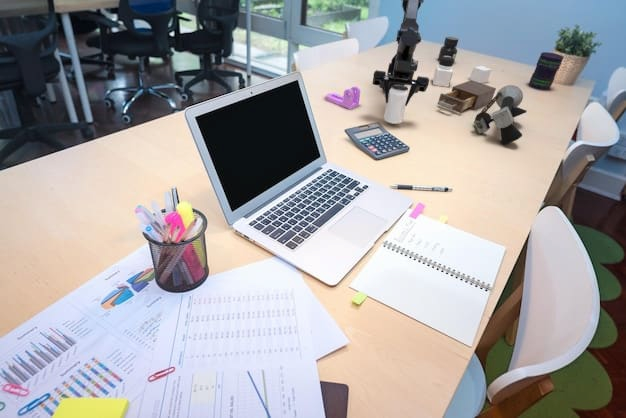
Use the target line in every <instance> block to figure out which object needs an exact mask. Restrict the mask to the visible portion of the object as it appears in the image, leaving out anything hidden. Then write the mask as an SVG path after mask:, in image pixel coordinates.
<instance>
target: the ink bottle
mask: <svg viewBox="0 0 626 418" xmlns="http://www.w3.org/2000/svg"><path fill="white" fill-rule="evenodd" d="M459 40H460V39H459V38H458V37H455V36H445V39H444V41H443V42H444V43H443V45H442V46H441V47H440V48H439V54H438V56H437V61H439V62H440V58H441V57H443V56H449V57H452V58H453V59H454V62H453V64H454V63H455V60H456V57H457V53H458V48H457V47H458V43H459Z"/></svg>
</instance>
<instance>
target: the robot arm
mask: <svg viewBox="0 0 626 418" xmlns="http://www.w3.org/2000/svg"><path fill="white" fill-rule="evenodd" d="M400 1H401V8H402V11H403V17H402V22H401V23H400V26H399V29H397V33H396V39H395V42H397V49H396V53H395V54H394V56H393V57H392V58H391V61H390V62H389V63H388V67H387V71H385V70H378V69H377V70H375V71H373V78H372V85H373V86H378V87H379V88H380V89H381V90H382V91H383V96H384V101H385V104H387V102H388V95H389V91H390V89H391V86H392V85H403V86H410V89H409V90H408V97H407V101H406V105H405V107H407V106H408V104H409V102H410V101H411V99H412V97H413V96H414V95H415V94H418V93H419V92H422V93H424V92H426V91H427V89H428V87H429V83H430V79H429V77H426V76H419V75H418V76H417V77H416V79H414V78H413V79H409V77H410V76H411V71H414V72H417V69H418V67H419V60H415V59H414V53H415V51H416V48H417V45H419V43H422V36H421V33H420V32H419V28H420V26H419V24H418V22H417V20H418V19H417V17H418V13H419V12H418V11H419V9H420V8H421V5H422V4H424V2H425V0H400ZM412 58H413V59H414V60H413V61H412Z"/></svg>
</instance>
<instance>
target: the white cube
mask: <svg viewBox="0 0 626 418" xmlns="http://www.w3.org/2000/svg"><path fill="white" fill-rule="evenodd" d="M491 73H492V69H491V68H489V67H485V66H483V65H478V66H476V65H475V66H472V69H471V72H470V76H469V81H470V80H472V81H475V82H478V83H481V84H485V83H488V82H489V78H490V75H491Z"/></svg>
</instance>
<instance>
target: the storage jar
mask: <svg viewBox="0 0 626 418" xmlns="http://www.w3.org/2000/svg"><path fill="white" fill-rule="evenodd" d="M564 58H565V57H564V56H563V55H561V54H559V53H555V52H541V53H540V56H539V57H538V60H537V62H536V67H535V68H534V71H533V73H532V75H531V76H530V79H529V82H528V87H530V88H531V89H535V90H537V91H550V89H551V87H552V85H553V83H554V80H555V77H556V75H557V72H558V71H559V69H560V67H561V65H562V62H563V60H564Z"/></svg>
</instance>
